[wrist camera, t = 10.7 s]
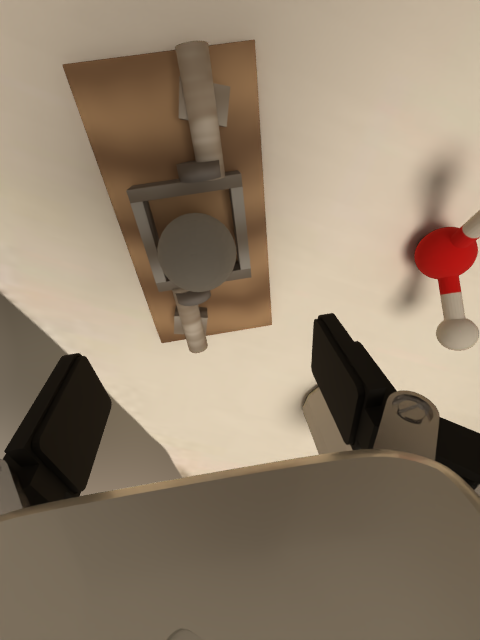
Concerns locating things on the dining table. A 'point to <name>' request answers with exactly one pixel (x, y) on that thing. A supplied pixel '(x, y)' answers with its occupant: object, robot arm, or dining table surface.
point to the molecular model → (451, 278)
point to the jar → (323, 425)
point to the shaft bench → (183, 172)
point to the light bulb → (196, 252)
